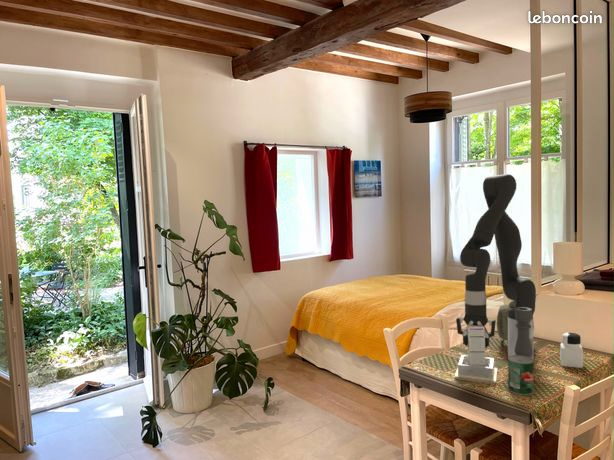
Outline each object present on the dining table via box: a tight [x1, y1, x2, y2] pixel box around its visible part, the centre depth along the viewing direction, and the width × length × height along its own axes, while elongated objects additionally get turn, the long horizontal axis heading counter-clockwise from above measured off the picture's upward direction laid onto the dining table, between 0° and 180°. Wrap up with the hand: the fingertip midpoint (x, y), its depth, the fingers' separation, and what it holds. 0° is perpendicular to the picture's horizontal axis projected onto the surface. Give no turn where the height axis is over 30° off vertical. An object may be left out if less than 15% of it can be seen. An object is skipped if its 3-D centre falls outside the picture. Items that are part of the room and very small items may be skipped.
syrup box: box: [466, 324, 486, 365], centre depth 171 cm, size 6×6×14 cm
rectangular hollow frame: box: [454, 354, 499, 385], centre depth 172 cm, size 14×14×5 cm
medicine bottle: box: [559, 332, 584, 369], centre depth 179 cm, size 7×7×12 cm
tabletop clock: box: [496, 296, 535, 345], centre depth 200 cm, size 14×9×25 cm, turn 65°
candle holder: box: [514, 307, 534, 357], centre depth 168 cm, size 6×6×25 cm
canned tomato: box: [507, 355, 535, 396], centre depth 156 cm, size 8×8×11 cm
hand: (476, 346), depth 171 cm, fingers closed on syrup box, 6 cm apart
